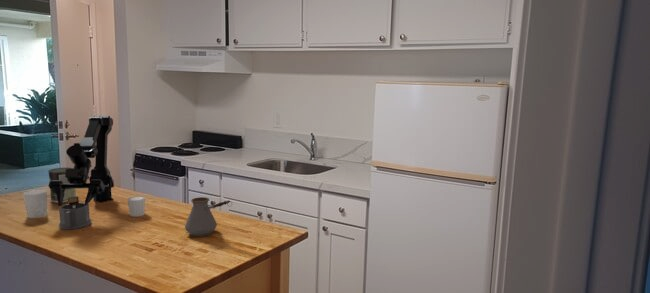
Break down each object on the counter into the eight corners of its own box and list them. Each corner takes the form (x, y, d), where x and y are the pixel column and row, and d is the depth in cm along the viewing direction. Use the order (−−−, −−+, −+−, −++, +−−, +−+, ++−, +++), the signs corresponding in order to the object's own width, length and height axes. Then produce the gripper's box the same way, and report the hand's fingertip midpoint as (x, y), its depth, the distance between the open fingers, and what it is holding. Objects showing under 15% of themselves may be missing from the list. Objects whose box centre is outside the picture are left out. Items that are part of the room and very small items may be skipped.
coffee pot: (178, 234, 163) (177, 194, 160) (202, 225, 172) (201, 188, 170) (219, 247, 151) (218, 204, 149) (242, 237, 160) (242, 197, 158)
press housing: (65, 220, 175) (64, 202, 174) (95, 219, 177) (94, 201, 176) (51, 231, 162) (50, 212, 161) (84, 230, 164) (82, 211, 163)
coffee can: (47, 203, 198) (45, 172, 195) (54, 197, 207) (51, 168, 205) (73, 201, 201) (71, 171, 198) (78, 195, 210) (76, 167, 208)
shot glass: (124, 215, 182) (123, 199, 181) (137, 211, 189) (136, 195, 187) (137, 217, 180) (136, 201, 179) (149, 213, 186) (149, 197, 185)
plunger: (68, 215, 173) (67, 195, 171) (87, 215, 174) (86, 194, 173) (61, 221, 166) (60, 200, 165) (81, 220, 167) (79, 199, 166)
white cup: (52, 214, 182) (50, 191, 181) (33, 220, 175) (31, 195, 174) (40, 211, 186) (38, 188, 184) (21, 217, 178) (19, 193, 177)
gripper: (48, 160, 169) (37, 195, 160) (100, 159, 172) (92, 194, 163) (58, 175, 178) (48, 210, 169) (107, 174, 181) (100, 208, 172)
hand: (72, 205), depth 168 cm, fingers open, 9 cm apart
